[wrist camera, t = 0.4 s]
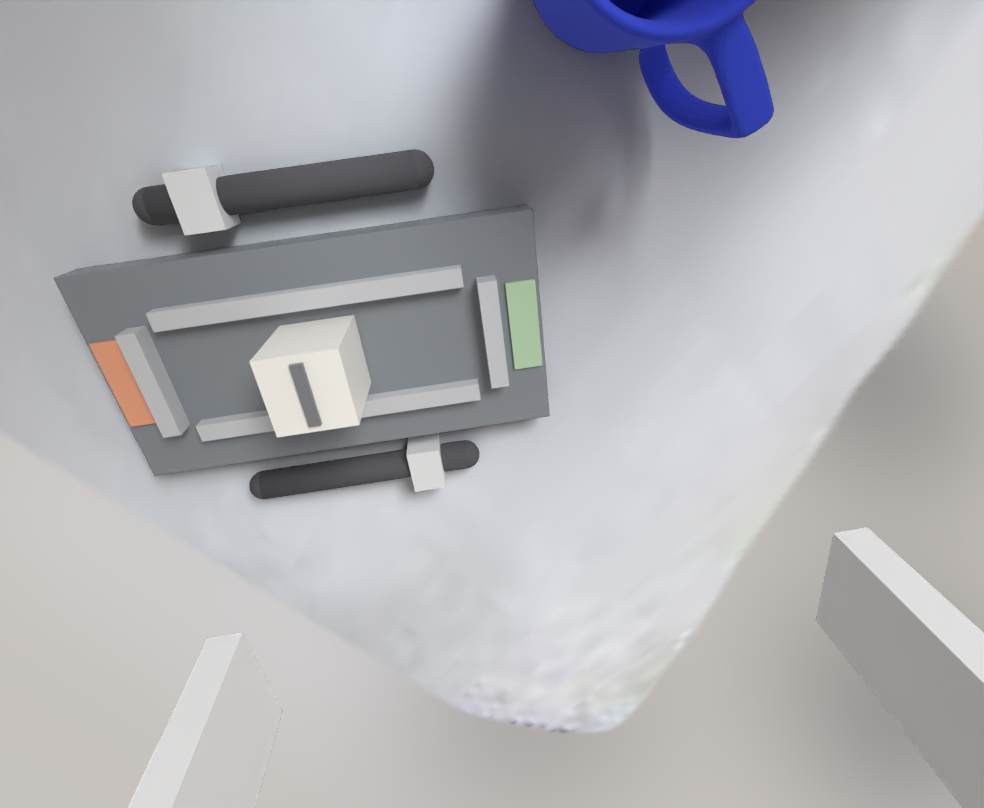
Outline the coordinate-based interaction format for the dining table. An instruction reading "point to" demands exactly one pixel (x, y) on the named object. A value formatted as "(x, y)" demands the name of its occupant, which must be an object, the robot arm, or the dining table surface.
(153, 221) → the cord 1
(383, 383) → the panel
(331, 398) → the toggle
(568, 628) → the dining table surface
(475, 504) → the dining table surface
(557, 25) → the mug
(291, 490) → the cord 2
